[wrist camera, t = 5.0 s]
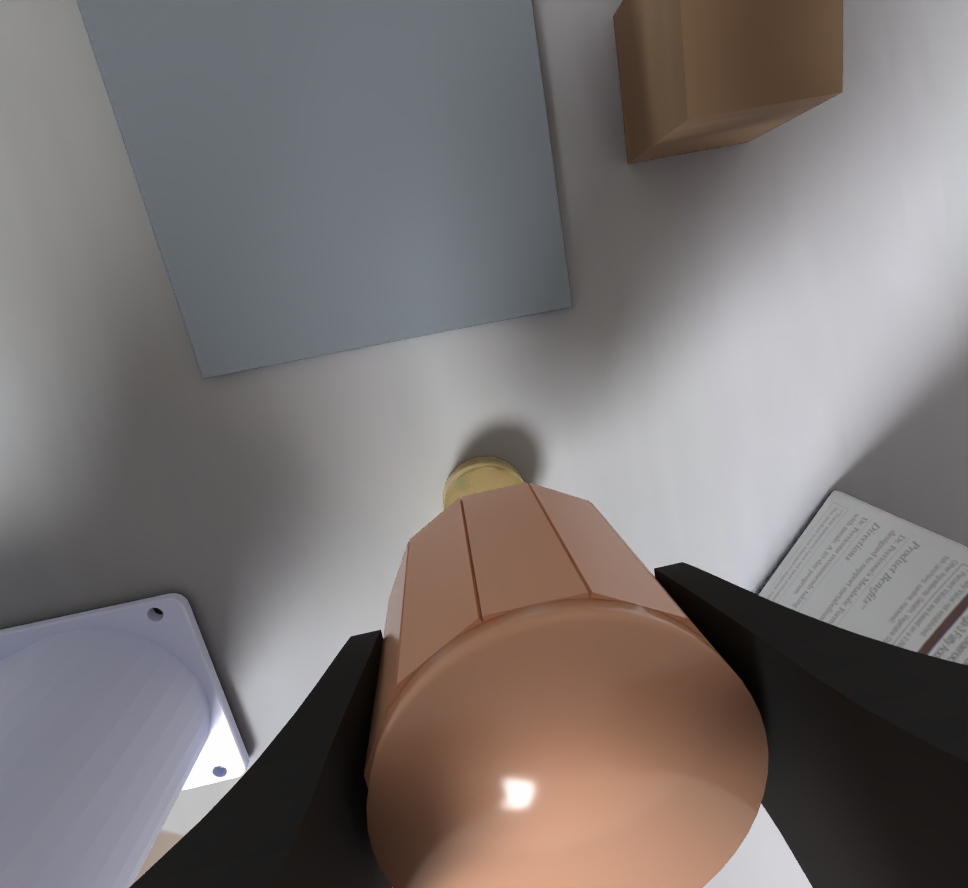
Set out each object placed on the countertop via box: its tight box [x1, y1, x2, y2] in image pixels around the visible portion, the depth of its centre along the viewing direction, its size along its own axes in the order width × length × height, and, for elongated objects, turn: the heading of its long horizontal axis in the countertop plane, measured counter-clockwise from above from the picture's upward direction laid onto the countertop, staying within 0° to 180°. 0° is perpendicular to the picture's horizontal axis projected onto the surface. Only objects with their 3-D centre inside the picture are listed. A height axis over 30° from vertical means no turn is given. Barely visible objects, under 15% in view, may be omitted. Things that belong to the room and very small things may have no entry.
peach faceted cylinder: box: [364, 483, 768, 888], centre depth 9 cm, size 6×6×5 cm
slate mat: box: [77, 0, 572, 378], centre depth 15 cm, size 12×12×1 cm
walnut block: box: [613, 0, 843, 164], centre depth 14 cm, size 4×4×4 cm
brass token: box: [443, 456, 524, 510], centre depth 18 cm, size 3×3×2 cm
